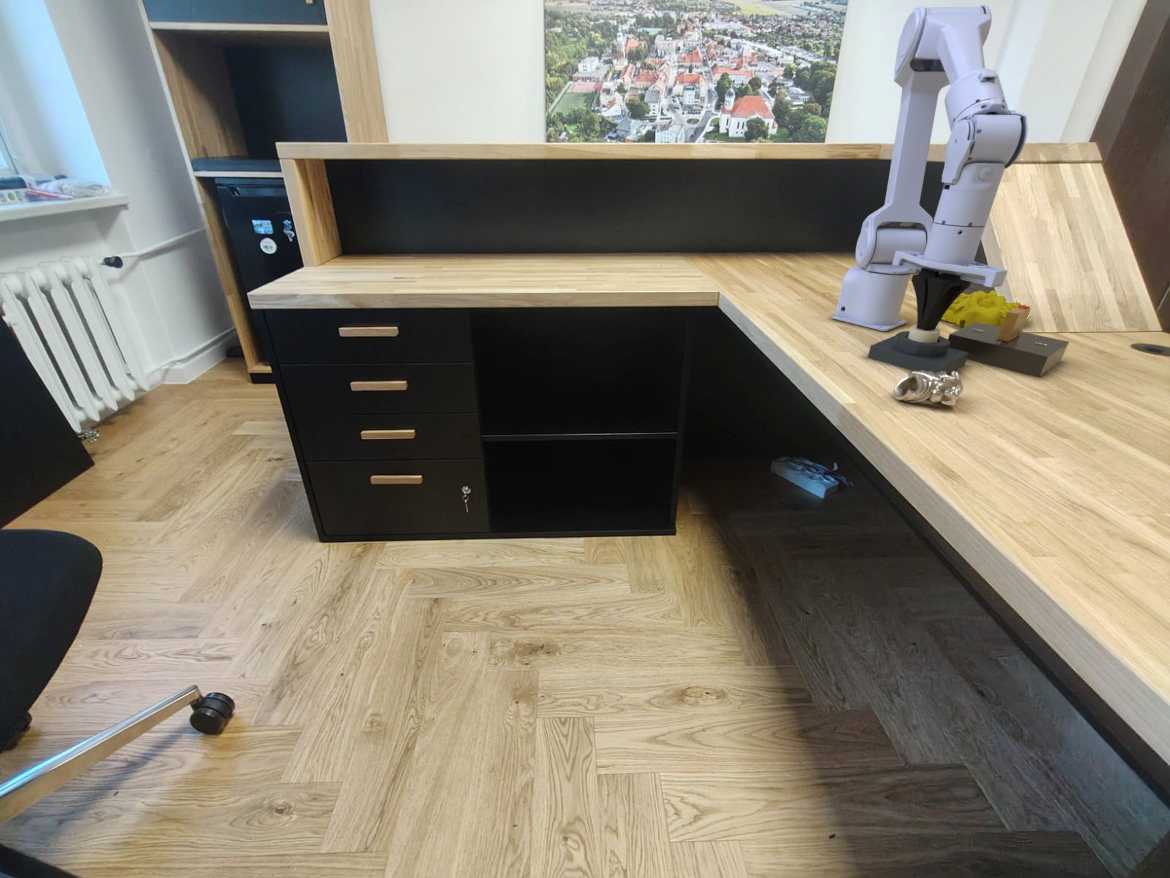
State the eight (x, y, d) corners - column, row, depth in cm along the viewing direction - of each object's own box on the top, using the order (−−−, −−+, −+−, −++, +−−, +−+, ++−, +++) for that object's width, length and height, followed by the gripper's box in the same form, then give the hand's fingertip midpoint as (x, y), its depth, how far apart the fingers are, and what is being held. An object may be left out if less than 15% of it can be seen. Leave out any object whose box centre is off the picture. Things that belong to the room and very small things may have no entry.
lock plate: (942, 353, 82) (949, 332, 81) (968, 340, 88) (975, 320, 86) (1038, 377, 74) (1048, 355, 73) (1060, 361, 80) (1069, 340, 78)
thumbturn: (1007, 341, 78) (1019, 312, 76) (996, 339, 79) (1008, 309, 77) (1020, 335, 80) (1032, 306, 78) (1009, 332, 81) (1020, 304, 79)
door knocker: (908, 304, 107) (914, 282, 105) (991, 304, 107) (999, 282, 105) (957, 330, 93) (965, 305, 91) (1053, 331, 92) (1064, 306, 90)
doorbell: (867, 358, 80) (873, 334, 78) (892, 346, 85) (899, 324, 83) (941, 379, 73) (949, 353, 72) (964, 365, 78) (973, 341, 76)
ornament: (921, 417, 63) (931, 387, 61) (880, 392, 69) (888, 365, 67) (979, 410, 65) (990, 381, 63) (934, 387, 71) (943, 360, 69)
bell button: (902, 340, 78) (906, 328, 77) (914, 335, 80) (917, 323, 79) (929, 346, 75) (934, 334, 74) (940, 341, 77) (944, 329, 76)
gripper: (1039, 230, 66) (996, 341, 72) (930, 216, 77) (902, 312, 84) (999, 233, 63) (959, 347, 70) (893, 217, 75) (867, 316, 81)
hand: (925, 328), depth 77 cm, fingers closed
